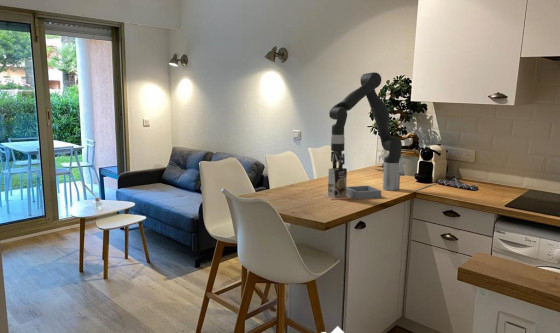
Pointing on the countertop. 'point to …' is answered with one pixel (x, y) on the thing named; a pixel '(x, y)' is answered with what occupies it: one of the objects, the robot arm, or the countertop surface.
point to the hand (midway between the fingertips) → (337, 170)
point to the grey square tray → (363, 192)
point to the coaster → (337, 197)
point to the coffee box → (337, 182)
